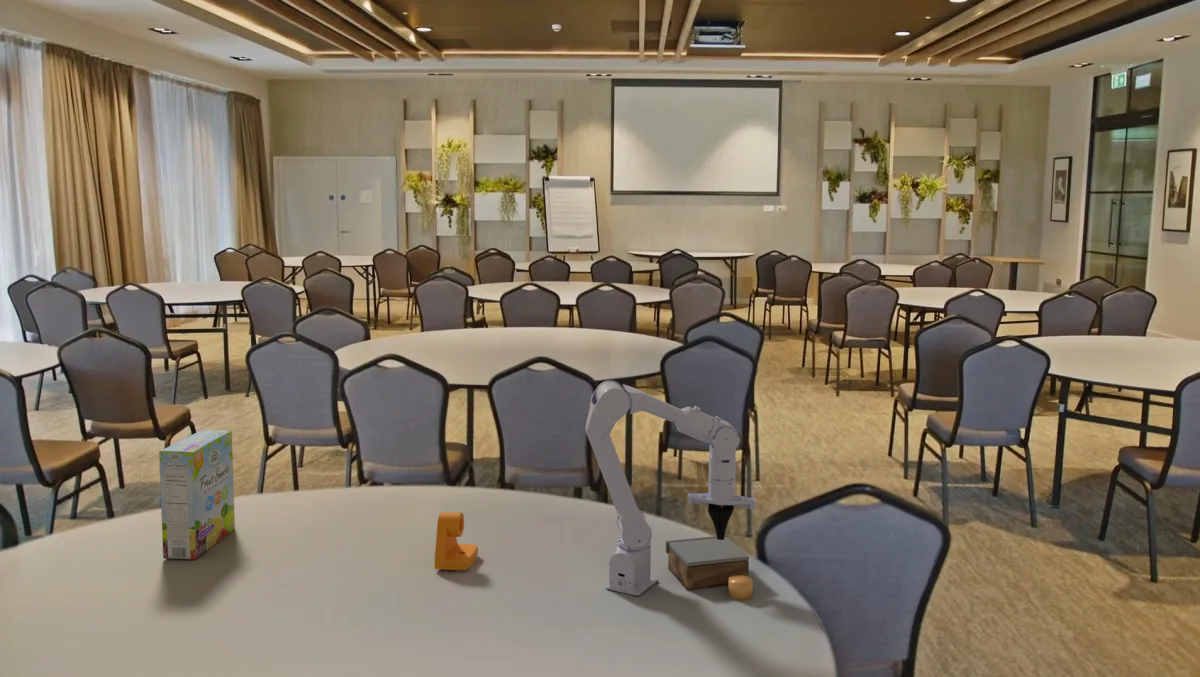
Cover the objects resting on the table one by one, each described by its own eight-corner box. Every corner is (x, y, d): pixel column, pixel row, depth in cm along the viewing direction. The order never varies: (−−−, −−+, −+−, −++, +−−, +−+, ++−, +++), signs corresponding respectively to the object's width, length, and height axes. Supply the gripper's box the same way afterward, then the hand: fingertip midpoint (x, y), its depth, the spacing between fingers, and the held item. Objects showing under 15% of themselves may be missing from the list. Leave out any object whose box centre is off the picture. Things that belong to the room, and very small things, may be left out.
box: (748, 583, 197) (748, 561, 196) (687, 590, 193) (687, 567, 193) (726, 562, 208) (726, 541, 208) (668, 568, 205) (668, 547, 204)
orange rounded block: (747, 602, 187) (747, 586, 187) (724, 597, 190) (724, 581, 189) (755, 594, 192) (756, 578, 191) (733, 589, 194) (733, 573, 194)
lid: (750, 567, 196) (750, 556, 196) (686, 574, 193) (686, 562, 192) (726, 546, 209) (726, 535, 209) (665, 552, 205) (665, 541, 205)
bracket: (466, 574, 202) (465, 521, 200) (434, 572, 203) (433, 520, 201) (478, 555, 213) (477, 506, 211) (448, 554, 213) (447, 504, 212)
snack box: (199, 561, 209) (192, 451, 206) (161, 560, 209) (154, 451, 206) (238, 528, 231) (233, 428, 227) (204, 528, 231) (198, 428, 227)
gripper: (758, 474, 197) (756, 534, 199) (691, 469, 201) (690, 529, 203) (754, 483, 191) (753, 546, 192) (685, 478, 194) (685, 540, 196)
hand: (720, 538), depth 197 cm, fingers closed
